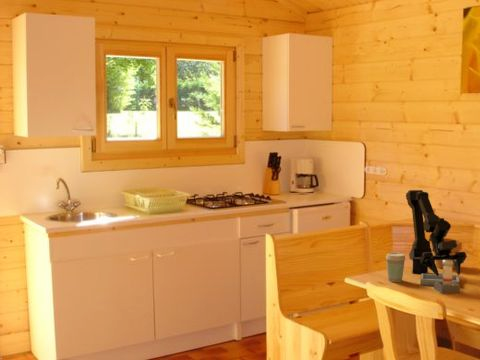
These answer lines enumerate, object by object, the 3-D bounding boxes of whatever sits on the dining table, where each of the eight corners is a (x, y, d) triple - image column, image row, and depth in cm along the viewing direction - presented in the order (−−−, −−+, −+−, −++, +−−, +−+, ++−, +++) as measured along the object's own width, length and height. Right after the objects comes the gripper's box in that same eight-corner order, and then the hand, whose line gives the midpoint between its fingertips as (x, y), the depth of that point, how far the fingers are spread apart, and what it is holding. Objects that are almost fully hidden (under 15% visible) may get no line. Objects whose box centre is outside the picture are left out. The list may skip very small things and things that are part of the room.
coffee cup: (406, 279, 300) (407, 253, 299) (402, 284, 293) (403, 257, 291) (387, 277, 304) (388, 251, 303) (383, 282, 296) (383, 255, 295)
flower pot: (437, 262, 334) (438, 236, 333) (465, 266, 325) (466, 240, 324) (425, 267, 323) (426, 241, 322) (454, 271, 314) (455, 244, 313)
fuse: (441, 291, 280) (442, 261, 279) (441, 288, 284) (442, 258, 283) (452, 292, 279) (453, 261, 278) (452, 289, 283) (453, 259, 282)
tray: (420, 284, 291) (420, 279, 291) (421, 278, 301) (421, 273, 301) (459, 287, 286) (459, 281, 286) (458, 281, 297) (458, 275, 296)
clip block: (434, 288, 285) (434, 281, 285) (452, 287, 286) (452, 280, 286) (441, 293, 277) (441, 286, 277) (460, 292, 278) (460, 285, 278)
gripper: (423, 233, 282) (432, 265, 273) (465, 233, 284) (476, 264, 274) (416, 248, 291) (424, 279, 281) (457, 247, 293) (467, 278, 283)
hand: (448, 275), depth 280 cm, fingers open, 9 cm apart
